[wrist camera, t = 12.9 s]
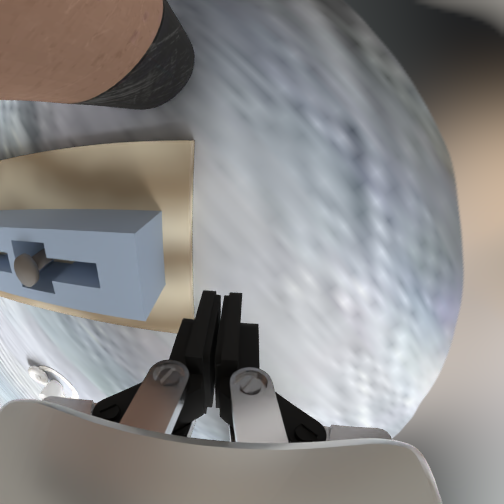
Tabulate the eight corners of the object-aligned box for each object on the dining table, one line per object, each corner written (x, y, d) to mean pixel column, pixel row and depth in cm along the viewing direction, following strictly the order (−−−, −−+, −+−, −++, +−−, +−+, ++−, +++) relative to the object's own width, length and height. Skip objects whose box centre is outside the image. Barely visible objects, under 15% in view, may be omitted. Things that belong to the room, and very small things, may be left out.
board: (194, 327, 24) (178, 385, 18) (-16, 285, 24) (-47, 311, 17) (194, 140, 18) (163, 140, 12) (-37, 170, 18) (-76, 184, 11)
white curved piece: (28, 363, 30) (16, 380, 26) (48, 355, 28) (35, 374, 24) (64, 401, 33) (54, 418, 29) (88, 398, 31) (79, 417, 27)
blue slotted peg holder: (165, 284, 21) (145, 321, 17) (-3, 261, 21) (-30, 281, 16) (161, 210, 19) (134, 233, 14) (-13, 210, 19) (-44, 225, 14)
